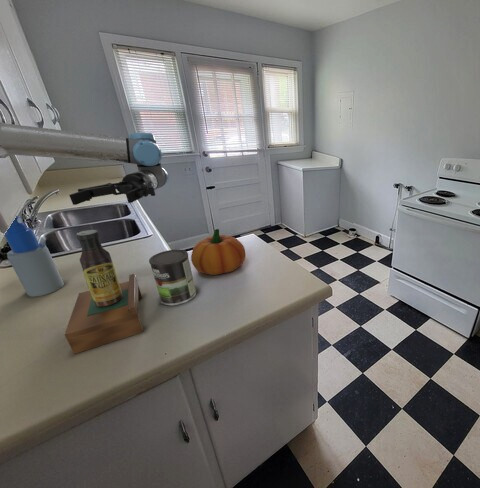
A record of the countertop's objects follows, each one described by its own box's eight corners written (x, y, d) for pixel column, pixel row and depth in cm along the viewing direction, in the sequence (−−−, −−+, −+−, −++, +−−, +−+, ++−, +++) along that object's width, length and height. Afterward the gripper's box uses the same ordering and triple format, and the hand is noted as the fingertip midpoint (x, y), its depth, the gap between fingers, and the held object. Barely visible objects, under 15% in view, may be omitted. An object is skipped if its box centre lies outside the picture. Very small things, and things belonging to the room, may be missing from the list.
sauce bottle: (98, 311, 69) (68, 239, 61) (93, 301, 73) (64, 233, 65) (127, 300, 73) (103, 232, 66) (121, 291, 77) (98, 226, 69)
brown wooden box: (74, 354, 64) (60, 327, 61) (86, 310, 79) (76, 287, 76) (143, 331, 71) (134, 307, 68) (142, 295, 86) (135, 273, 83)
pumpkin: (182, 274, 98) (172, 236, 92) (216, 253, 115) (210, 219, 109) (226, 283, 93) (219, 243, 87) (256, 259, 109) (252, 224, 103)
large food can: (177, 309, 80) (166, 267, 74) (153, 301, 83) (140, 261, 78) (204, 290, 89) (195, 252, 83) (180, 284, 92) (170, 247, 86)
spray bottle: (70, 280, 95) (39, 212, 85) (51, 295, 87) (14, 221, 77) (41, 282, 93) (6, 213, 83) (19, 297, 85) (-22, 223, 75)
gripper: (181, 193, 94) (154, 210, 75) (103, 195, 91) (54, 214, 72) (176, 171, 91) (147, 183, 72) (95, 173, 88) (42, 186, 69)
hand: (100, 198), depth 72 cm, fingers open, 13 cm apart
